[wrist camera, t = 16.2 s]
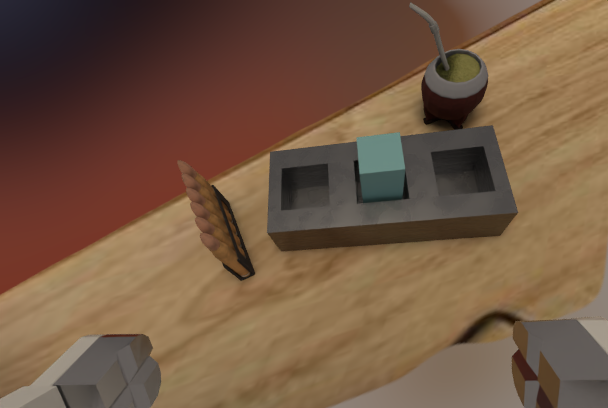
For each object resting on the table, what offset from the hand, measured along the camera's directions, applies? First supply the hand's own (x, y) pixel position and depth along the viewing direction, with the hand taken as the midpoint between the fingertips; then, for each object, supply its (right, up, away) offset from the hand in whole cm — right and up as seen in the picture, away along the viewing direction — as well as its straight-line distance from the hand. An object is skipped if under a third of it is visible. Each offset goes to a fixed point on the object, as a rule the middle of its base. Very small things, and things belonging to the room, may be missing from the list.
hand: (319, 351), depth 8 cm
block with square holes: (+9, +3, +35) cm, 36 cm away
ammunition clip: (-9, -1, +37) cm, 38 cm away
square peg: (+9, +4, +34) cm, 36 cm away
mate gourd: (+17, +15, +39) cm, 45 cm away
